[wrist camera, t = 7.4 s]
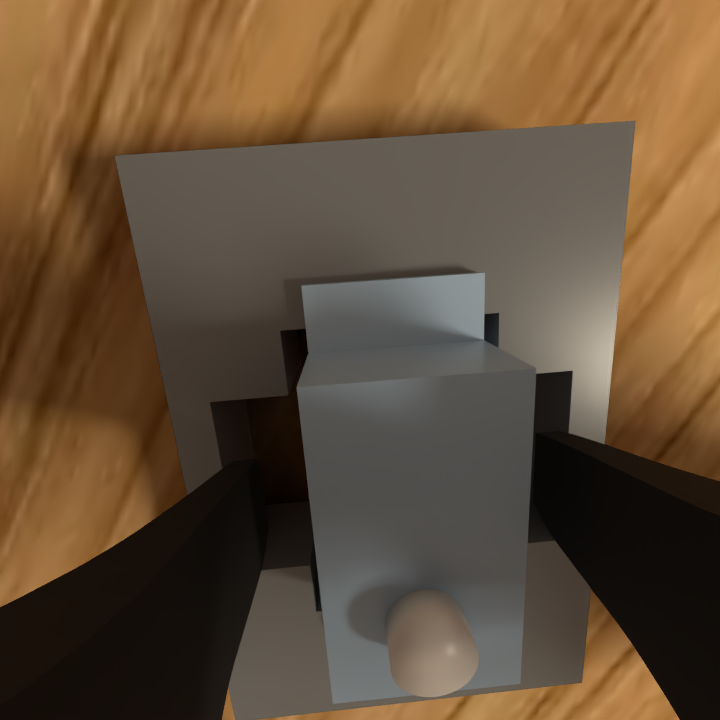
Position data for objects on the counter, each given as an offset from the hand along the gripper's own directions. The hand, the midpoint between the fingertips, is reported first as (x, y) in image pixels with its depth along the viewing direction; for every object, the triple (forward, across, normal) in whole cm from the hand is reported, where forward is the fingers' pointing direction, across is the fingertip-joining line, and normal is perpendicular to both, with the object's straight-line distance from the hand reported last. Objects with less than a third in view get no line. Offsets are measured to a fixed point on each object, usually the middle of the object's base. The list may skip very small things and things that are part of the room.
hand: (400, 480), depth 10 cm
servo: (+3, 0, 0) cm, 3 cm away
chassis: (+3, 0, 0) cm, 3 cm away
